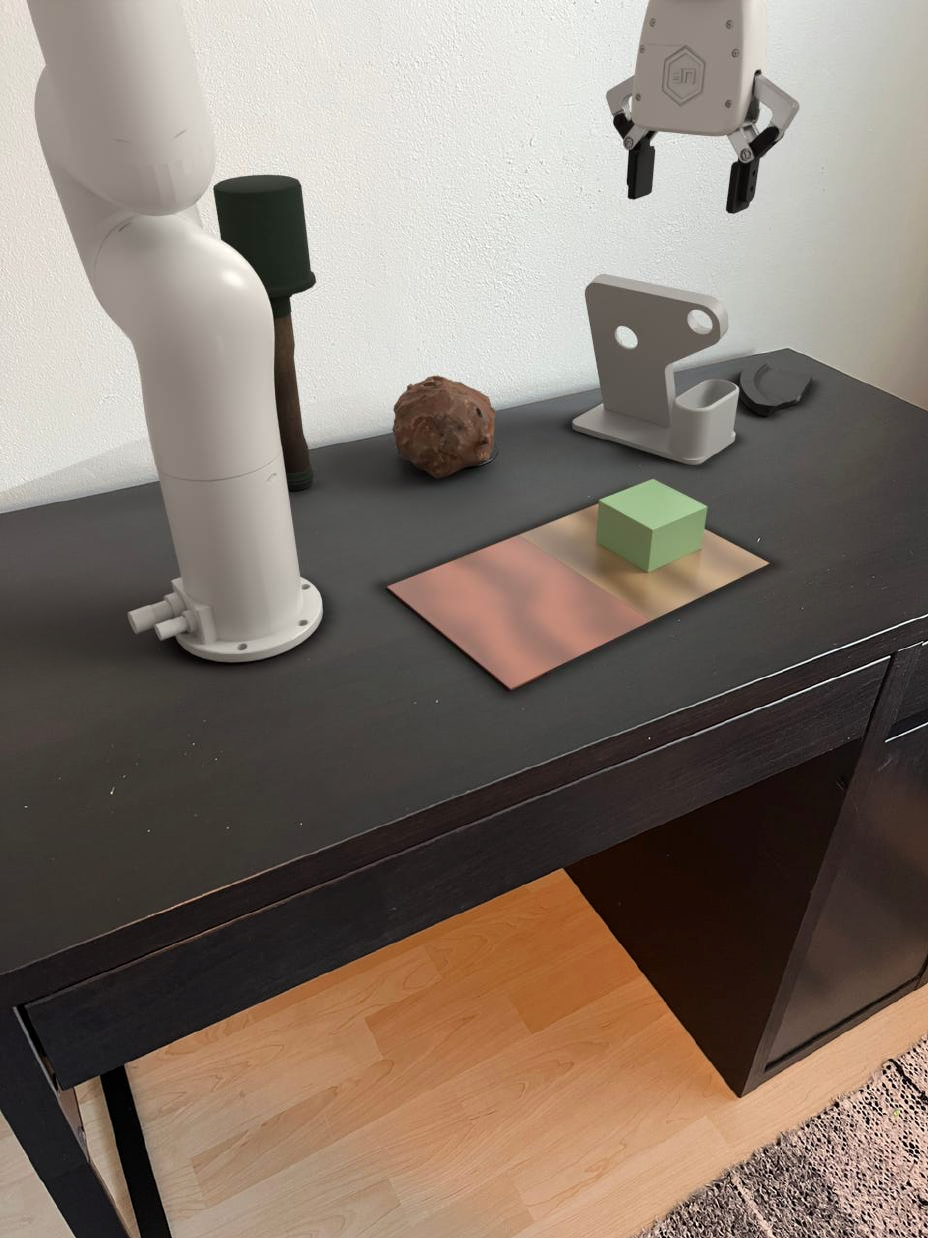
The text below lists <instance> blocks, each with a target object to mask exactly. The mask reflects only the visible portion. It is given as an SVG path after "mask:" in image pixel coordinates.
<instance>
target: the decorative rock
mask: <svg viewBox="0 0 928 1238" xmlns="http://www.w3.org/2000/svg"><path fill="white" fill-rule="evenodd" d="M392 410H393V413H394V417H395V418H394V420H393V425H392V429H391V430H392V433H393V436H394V439H395V442H394V443H395V447H396V449H397V453H398V454H397V455H400V456H401V458H402V459H404V460H406V461H408V462H410V463H411V464H413V465H414V466H415V467H417V468H418V469H419V470H420V471H423V470H424V471H426V472H427V473H428V474H429V475H431V476H432V477H434V479H442V478H446V477H449V476H450V475H452V474H454V473H456V472H458V471H460V470H463V469H465V468H469V467H473V466H478V465H483V464H484V463H486V462H489V461H490V457H491V453H492V451H493V449H494V446H495V439H494V432H495V419H496V417H497V411H496V409H495V408H494V407H492V403H491V400H490V397H489V396H488V395H486V394H484V393H482V391H480V390H477V389H476V388H472V387H470V386H468V385H466V384H464V383H463V382H461V381H453V380H452V379H448V378H447V377H444V376H441V375H432V376H428V377H426V378H425V379H424V380H422V381H420V382H416V383H414V384H413V383H409V384H408V385H407V386H406V390H405V391H404V392H402V394H401V395H400V396H399V397H398V399H397V400H396V402H395V404H394V405H393V409H392Z"/></svg>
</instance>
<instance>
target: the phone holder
mask: <svg viewBox="0 0 928 1238" xmlns="http://www.w3.org/2000/svg"><path fill="white" fill-rule="evenodd" d="M584 301H585V305H586V311H587V317H588V322H589V328H590V329H589V330H590V334H591V340H592V346H593V352H594V357H595V363H596V369H597V376H598V382H599V387H600V393H601V397H602V398H601V399H602V403H600V404H599V405H597V406H595V407H593V408H591V409H589V410H588V411H586V412H584V413H583V414H580V415H579V416H577V417H575V418H574V419H573V420H572V423H571V424H572V429H573V431H576V432H578V433H582V434H585V435H587V436H591V437H593V438H598V439H600V440H603V441H605V440H608V441H611V442H615V443H618V444H620V445H624V446H627V447H630V448H633V449H637V450H640V451H643V452H647V453H650V454H652V455H653V454H654V455H655V456H656V455H657V456H660V457H662V458H666V459H669V460H673V461H675V462H678V463H681V464H685V465H691V466H692V465H693V466H695V465H701V464H702V463H704V462H706V460H708V459H709V458H712V456H714V455H715V454H718V453H720V452H721V451H722V450H724V449H725V448H727V447H728V446H730V445H731V444H733V443H734V442H735V440H736V432H735V431H734V428H735V420H736V414H737V407H738V400H739V396H740V395H739V385H737V384H735V383H733V382H731V381H728V380H725V379H707V380H704V381H702V382H700V383H698V384H696V385H695V386H693V387H691V388H689V389H688V390H687V391H685V392H683V393H681V394H680V395H678V396H676V385H675V375H674V363H675V362H678V361H681V360H682V359H686V358H688V357H690V356H692V355H694V354H697V353H699V352H701V351H704V350H706V349H709V348H710V347H712V346H715V345H717V344H718V343H719V342H720V340H721V339H722V338H723V337H724V336H725V335H726V333H727V332H728V330H729V314H728V311H727V309H726V307H725V305H724V304H723V303H722V302H721V301H720V300H719V299H717V297H714V296H713V295H708V294H704V293H699V292H695V291H691V290H686V289H681V288H675V287H672V286H671V287H670V286H666V285H661V284H657V283H651V282H646V281H642V280H637V279H632V278H627V277H622V276H617V275H611V274H608V273H601V274H598V275H597V276H596V277H594V278H593V279H592V281H590V282H589V284H588V285H586V287H585V289H584ZM693 311H699V312H700V311H701V312H702V313H704V314H705V315H707V316H708V317H709V319H710V321H711V325H712V327H711V328H709V327H705V326H703V325H701V323H700V322H698V321H697V320H696V318H695V316H694V315H693ZM619 327H625V328H628V329H629V330H631V332H633V334H634V335H635V337H636V342H637V344H636V346H633V347H629V346H627V345H625V344H623V340H621V338H620V336H619V334H618V328H619Z"/></svg>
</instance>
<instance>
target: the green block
mask: <svg viewBox="0 0 928 1238" xmlns="http://www.w3.org/2000/svg"><path fill="white" fill-rule="evenodd" d="M597 504H598V519H597V533H596V542H597V543H599V544H601V545H602V546H604V547H606V548H607V549H609V550H611V551H612V552H614V553H616V554H617V555H619V556H621V557H622V558H624V559H626V560H627V561H629V562H631V563H632V564H634V565H636V566H637V567H639V568H641V569H642V570H644V571H646V572H647V573H648V572H651V571H653V570H655V569H657V568H660V567H662V566H664V565H666V564H668V563H671V562H673V561H675V560H677V559H679V558H682V557H684V556H686V555H688V554H690V553H693V552H695V551H697V550H699V549H701V548H702V542H703V535H704V529H706V528H705V527H706V519H707V514H708V506H707V505H706V504H704V503H703V502H700V501H698V500H695V499H694V498H692V497H689V496H688V495H686V494H684V493H682V492H680V491H678V490H676V489H674V488H672V487H670V486H668V485H666V484H664V483H663V482H661V481H658V480H656V479H655V478H652V479H649V480H646V481H644V482H640V483H638V484H636V485H634V486H631V487H628V488H625V489H623V490H621V491H618V492H616V493H613V494H611V495H608V496H605V497H603V498H599V499H598V503H597Z"/></svg>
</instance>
